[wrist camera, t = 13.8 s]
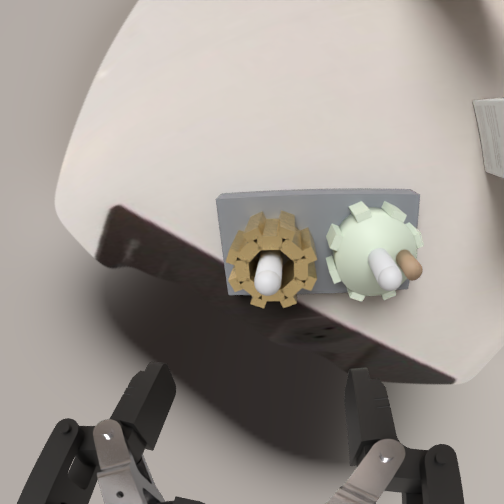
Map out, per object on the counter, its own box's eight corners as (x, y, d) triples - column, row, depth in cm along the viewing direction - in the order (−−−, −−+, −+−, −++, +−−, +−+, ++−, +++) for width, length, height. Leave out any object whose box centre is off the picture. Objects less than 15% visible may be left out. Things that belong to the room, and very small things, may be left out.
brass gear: (312, 209, 23) (317, 225, 19) (313, 281, 25) (316, 307, 22) (231, 212, 24) (221, 229, 20) (239, 282, 26) (232, 308, 23)
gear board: (411, 189, 23) (458, 219, 15) (401, 278, 26) (432, 331, 19) (221, 193, 25) (190, 225, 17) (232, 284, 29) (212, 340, 21)
